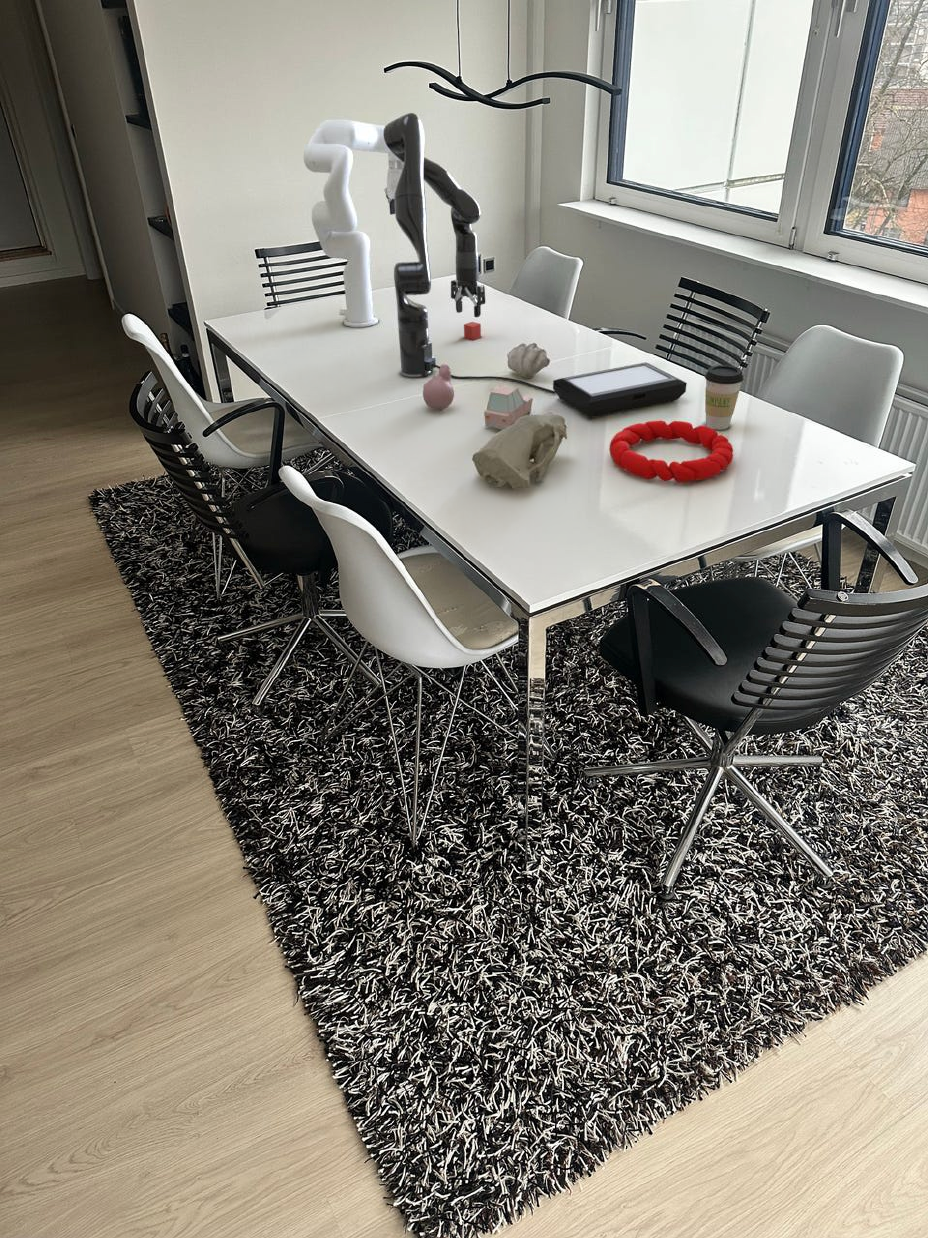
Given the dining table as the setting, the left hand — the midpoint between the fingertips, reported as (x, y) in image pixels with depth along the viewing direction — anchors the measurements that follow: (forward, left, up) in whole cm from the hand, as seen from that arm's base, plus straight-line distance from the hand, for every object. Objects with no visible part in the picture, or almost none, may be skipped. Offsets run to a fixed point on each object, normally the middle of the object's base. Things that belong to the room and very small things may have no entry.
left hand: (402, 215), depth 337 cm
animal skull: (+110, -126, -30) cm, 171 cm away
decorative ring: (+140, -105, -30) cm, 178 cm away
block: (+48, -36, -30) cm, 67 cm away
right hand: (+47, -37, -22) cm, 64 cm away
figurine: (+69, -98, -30) cm, 124 cm away
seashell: (+82, -64, -30) cm, 108 cm away
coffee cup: (+145, -79, -30) cm, 168 cm away
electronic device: (+114, -72, -30) cm, 139 cm away
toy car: (+93, -100, -30) cm, 140 cm away
